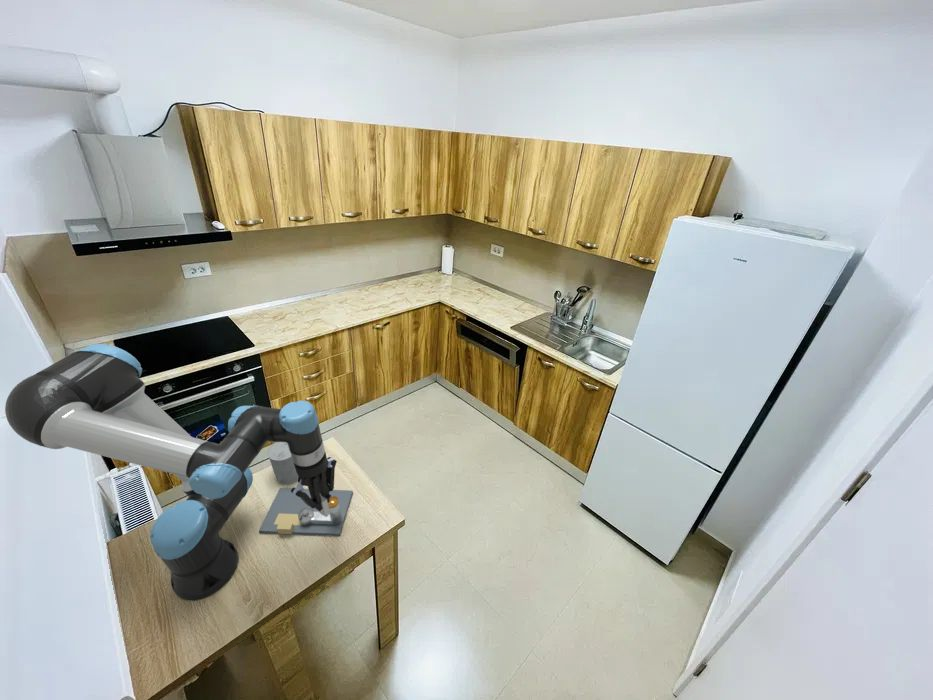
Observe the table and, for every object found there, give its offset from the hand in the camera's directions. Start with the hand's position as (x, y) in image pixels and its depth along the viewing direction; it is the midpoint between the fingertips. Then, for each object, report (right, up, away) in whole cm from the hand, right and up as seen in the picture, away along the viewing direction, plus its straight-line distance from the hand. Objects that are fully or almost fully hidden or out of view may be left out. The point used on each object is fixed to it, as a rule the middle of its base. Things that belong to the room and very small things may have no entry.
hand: (324, 512), depth 104 cm
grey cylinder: (-22, +2, +25) cm, 33 cm away
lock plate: (-10, -6, +13) cm, 18 cm away
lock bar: (-5, -7, +10) cm, 13 cm away
